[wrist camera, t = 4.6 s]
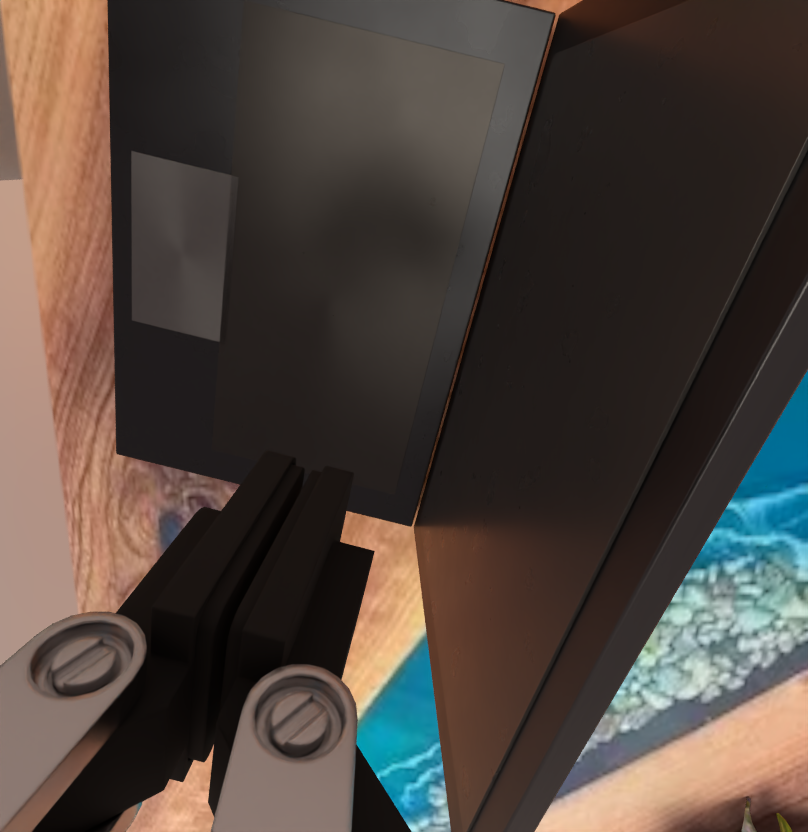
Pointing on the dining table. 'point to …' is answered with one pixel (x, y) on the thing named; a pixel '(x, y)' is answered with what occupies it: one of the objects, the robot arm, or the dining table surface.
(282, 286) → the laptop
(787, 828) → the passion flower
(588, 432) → the laptop screen
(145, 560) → the dining table surface
